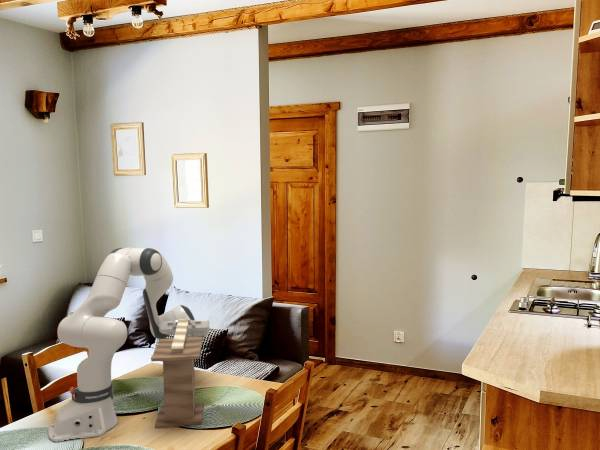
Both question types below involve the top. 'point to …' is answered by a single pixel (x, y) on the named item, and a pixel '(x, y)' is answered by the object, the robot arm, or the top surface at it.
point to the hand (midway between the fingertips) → (183, 322)
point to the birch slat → (180, 336)
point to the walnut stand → (179, 384)
